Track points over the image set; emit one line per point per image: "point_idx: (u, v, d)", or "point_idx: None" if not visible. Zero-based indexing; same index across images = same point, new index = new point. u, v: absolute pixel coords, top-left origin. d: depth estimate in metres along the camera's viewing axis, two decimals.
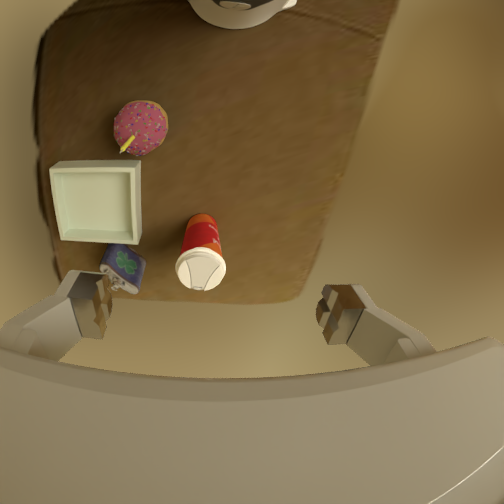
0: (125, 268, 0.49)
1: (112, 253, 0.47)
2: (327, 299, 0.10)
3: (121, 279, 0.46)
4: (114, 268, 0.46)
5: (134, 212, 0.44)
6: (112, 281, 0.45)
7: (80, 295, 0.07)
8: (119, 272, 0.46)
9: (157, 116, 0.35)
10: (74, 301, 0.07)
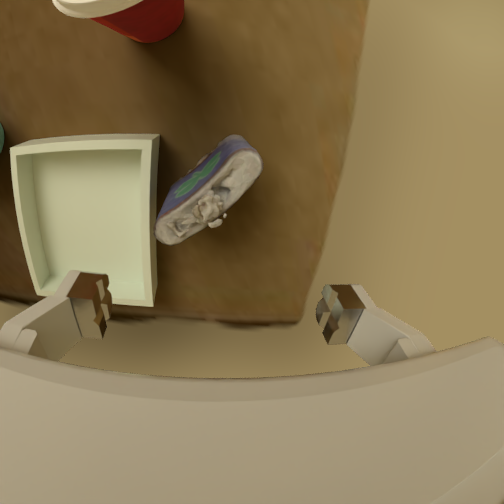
0: (201, 178, 0.20)
1: (165, 203, 0.21)
2: (327, 299, 0.10)
3: (204, 192, 0.18)
4: (176, 204, 0.18)
5: (78, 144, 0.18)
6: (202, 219, 0.18)
7: (80, 295, 0.07)
8: (189, 195, 0.18)
9: None
10: (74, 301, 0.07)
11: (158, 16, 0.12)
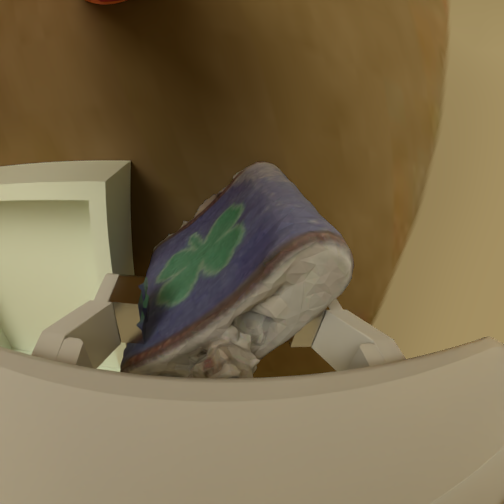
0: (206, 269, 0.10)
1: None
2: None
3: (215, 332, 0.07)
4: (157, 339, 0.08)
5: None
6: None
7: (123, 299, 0.08)
8: (182, 327, 0.08)
9: None
10: (117, 306, 0.08)
11: None
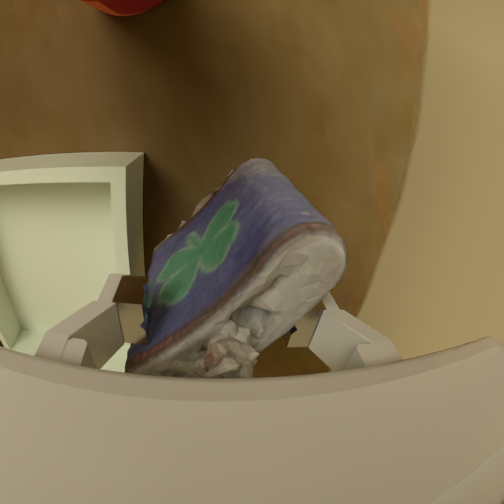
0: (204, 267, 0.10)
1: None
2: None
3: (214, 328, 0.08)
4: (159, 338, 0.09)
5: (21, 174, 0.11)
6: None
7: (127, 300, 0.08)
8: (182, 324, 0.08)
9: None
10: (120, 306, 0.08)
11: None
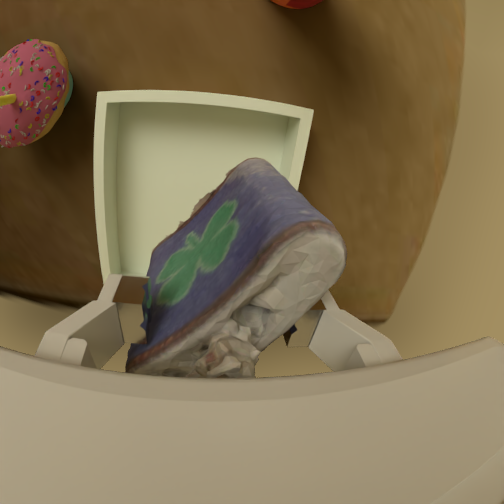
0: (203, 266, 0.10)
1: None
2: None
3: (215, 327, 0.08)
4: (159, 338, 0.09)
5: (215, 97, 0.16)
6: None
7: (127, 300, 0.08)
8: (183, 323, 0.08)
9: (0, 62, 0.09)
10: (120, 306, 0.08)
11: None
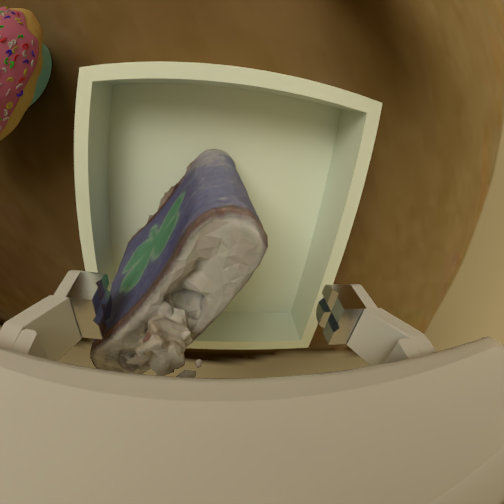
0: (153, 256, 0.11)
1: None
2: (327, 299, 0.10)
3: (151, 309, 0.08)
4: (114, 321, 0.09)
5: (253, 74, 0.10)
6: None
7: (80, 295, 0.07)
8: (130, 307, 0.09)
9: None
10: (74, 301, 0.07)
11: None
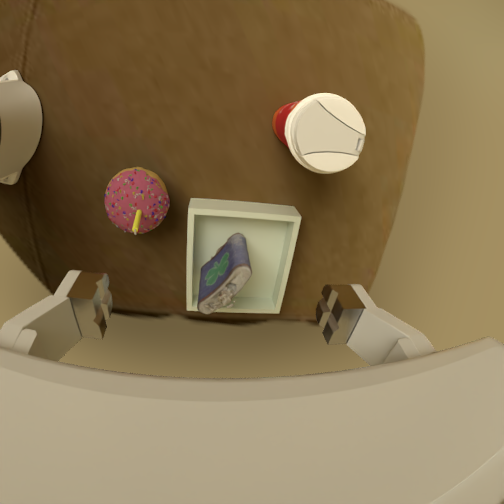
0: (219, 274, 0.36)
1: (200, 286, 0.37)
2: (327, 299, 0.10)
3: (222, 288, 0.33)
4: (208, 293, 0.35)
5: (251, 214, 0.36)
6: (223, 302, 0.34)
7: (80, 295, 0.07)
8: (214, 288, 0.34)
9: (117, 181, 0.30)
10: (74, 301, 0.07)
11: None
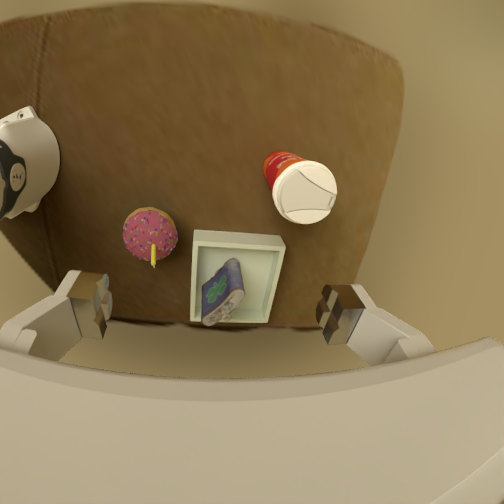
0: (219, 293, 0.44)
1: (202, 303, 0.45)
2: (327, 299, 0.10)
3: (221, 306, 0.42)
4: (210, 309, 0.43)
5: (245, 245, 0.44)
6: (222, 317, 0.42)
7: (80, 295, 0.07)
8: (215, 306, 0.42)
9: (134, 220, 0.37)
10: (74, 301, 0.07)
11: None
